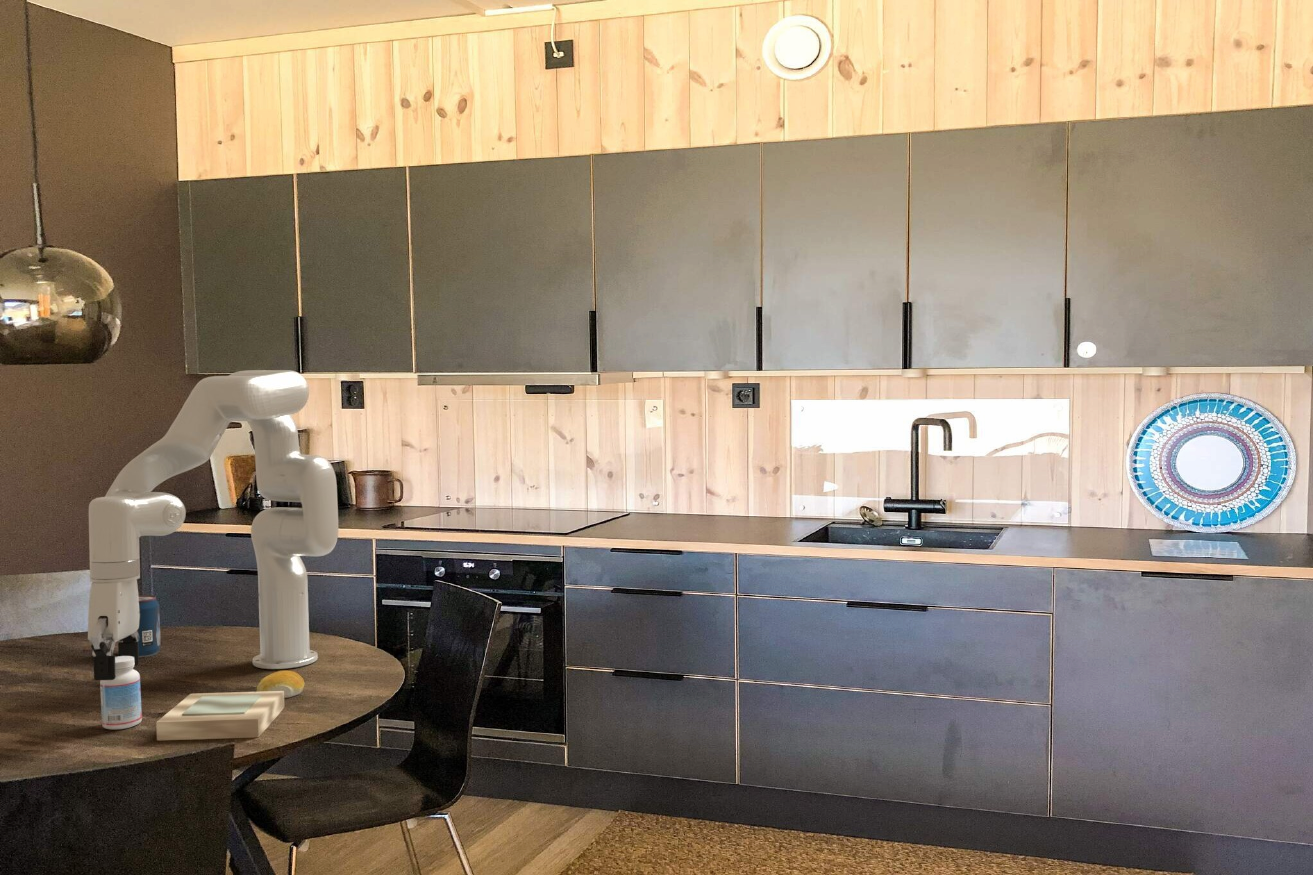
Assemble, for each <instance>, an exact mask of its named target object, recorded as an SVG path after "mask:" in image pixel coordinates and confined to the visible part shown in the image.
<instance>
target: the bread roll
mask: <svg viewBox="0 0 1313 875" xmlns="http://www.w3.org/2000/svg"><path fill="white" fill-rule="evenodd" d="M305 684H306V683H305V679H304V678H303V677H302V676H301V675H300V674H299V673H298V672H296V671H293V670H278V671H275V672H273V673H271V674H270V673H269V674H268V675H266V676H265V677H263V678H262V679H261V680H260V681H259V682H258V684H257V686H256V692H264V691H284V699H289V698H292V697H295V696H297V695H300V694H301V693H302V692H303V690H304V687H305Z"/></svg>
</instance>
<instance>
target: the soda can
mask: <svg viewBox="0 0 1313 875" xmlns="http://www.w3.org/2000/svg"><path fill="white" fill-rule="evenodd" d="M138 596H139V613H140V619H139V626H140V627H139V628H140V629H139V631H138V634H139V641H137V642H139V659H140V658H148V657H152V656H156V655H157V654H158V652H159V651H160V650H161V648H162V646H161V642H162V641H161V639H162V638H161V621H160V620H161V618H160V617H161V616H160V603H159V602H158V601H157V597H156V595H149V594H148V595H147V594H146V595H138Z"/></svg>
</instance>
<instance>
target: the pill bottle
mask: <svg viewBox="0 0 1313 875" xmlns="http://www.w3.org/2000/svg"><path fill="white" fill-rule="evenodd" d="M134 665H135V662H134V657H132V656H115V675H116V677H115V679H113V680H99V689H100V691H99V692H100V709H101V712H100V713H101V725H102V728H104V729H107V730H112V731H113V730H125V729H129V728H132V727H135V726H136V725H139V724H141V723H142V720H143V712H142V696H141V693H142V692H141V691H142V690H141V675H140V673H139V672H138V671H137V670H136V669H134V667H135V666H134Z"/></svg>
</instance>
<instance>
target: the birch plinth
mask: <svg viewBox="0 0 1313 875" xmlns="http://www.w3.org/2000/svg"><path fill="white" fill-rule="evenodd" d="M284 709H285V698H284V691H264V692H257V691H239V692H237V691H236V692H231V691H230V692H208V693H207V692H203V693H190V694H188V695H187V696H186V697H185V698H184V699H183V700H181V701H180V702H179V703H177V705H175V706H173V707H172V709H170V710H169V711H168V712H166V714H164V715H163V716H162V717H161V718H159V719H158V720H157V721H156V722H155V724H156V725H155V726H156V728H155V729H156V741H180V740H181V741H182V740H183V741H186V740H189V741H190V740H208V739H209V740H212V739H213V740H214V739H215V740H216V739H217V740H218V739H244V738H249V739H250V738H259V737H260V736H261V735H262V734H263V733H264V732H265V730H267V728H269V726H270V725H271V724H272V723H273V722H274V720H275V719H276V718H277V717H278V716H279V715H280V714H281V712H282V711H283V710H284Z"/></svg>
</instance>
